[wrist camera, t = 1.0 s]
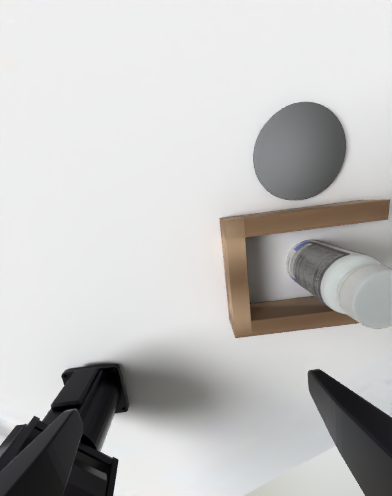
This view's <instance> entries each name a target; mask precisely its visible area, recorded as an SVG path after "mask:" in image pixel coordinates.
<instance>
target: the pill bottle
mask: <svg viewBox="0 0 392 496" xmlns="http://www.w3.org/2000/svg"><path fill="white" fill-rule="evenodd" d="M286 270H287V272H288V274H289V276H290V277H291V278H292V279H293V280H294V281H295V282H297V283H298V284H299V285H301V286H302V287H303V288H305V289H306V290H307V291H309V292H310V293H311V294H313V295H314V296H315V297H316V298H318V299H319V300H321V301H322V302H323V303H324V304H326V305H327V306H328V307H330V308H331V309H333V310H334V311H336V312H339V313H342V314H347V315H348V316H350V317H351V318H353V319H354V320H356V321H358V322H359V323H361V324H362V325H364V326H366V327H370V328H375V329H380V328H386V327H389V326H392V269H391V268H388V267H385V266H382V264H381V263H380V262H379V261H377V260H376V259H374V258H372V257H370V256H368V255H365V254H361V253H358V252H354V251H351V250H347V249H344V248H341V247H337V246H334V245H331V244H328V243H324V242H321V241H316V240H307V241H303V242H301V243H299V244H297V245H296V246H294V247H293V248H292V250H291V251H290V252H289V254H288V256H287V260H286Z"/></svg>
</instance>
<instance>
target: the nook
mask: <svg viewBox="0 0 392 496" xmlns="http://www.w3.org/2000/svg"><path fill="white" fill-rule="evenodd" d="M389 204H390V200H357V201H349V202H341V203H334V204H326V205H318V206H310V207H303V208H295V209H287V210H279V211H271V212H264V213H256V214H248V215H240V216H233V217H225V218H220V227H221V237H222V248H223V258H224V268H225V278H226V288H227V298H228V308H229V319H230V323H231V326H232V329H233V332H234V335H235V338H240V337H248V336H256V335H265V334H273V333H281V332H289V331H298V330H306V329H314V328H323V327H331V326H339V325H347V324H356V323H359V322H358V321H356V320H354V319H353V318H351V317H350V316H348V315H347V314H342V313H339V312H336V311H334V310H333V309H331V308H330V307H328V306H327V305H326V304H324V303H323V302H322V301H321V300H319V299H318V298H316V297H315V296H312V297H303V298H295V299H287V300H279V301H271V302H263V303H255V304H250V300H249V286H248V272H247V258H246V244H245V237H253V236H260V235H268V234H276V233H284V232H292V231H300V230H308V229H315V228H323V227H331V226H339V225H347V224H355V223H363V222H371V221H378V220H386V219H388V214H389Z"/></svg>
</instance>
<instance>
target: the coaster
mask: <svg viewBox="0 0 392 496" xmlns="http://www.w3.org/2000/svg"><path fill="white" fill-rule="evenodd" d="M345 150H346V140H345V134H344V130H343V128H342V125H341V123H340V121H339V120H338V118H337V117H336V116H335V115H334V113H333V112H331V111H330V110H329V109H328V108H326V107H324V106H322V105H320V104H317V103H313V102H299V103H294V104H291V105H289V106H286V107H285V108H283V109H281V110H280V111H278V112H277V113H276V114H275V115H273V116H272V117H271V118H270V119H269V121H268V122H267V123H266V124H265V125H264V127H263V128H262V130H261V131H260V133H259V135H258V138H257V140H256V143H255V147H254V154H253V161H254V168H255V172H256V175H257V177H258V179H259V181H260V183H261V184H262V186H263V187H264V188H265V189H266V190H267V191H268V192H270V193H271V194H272V195H274V196H276V197H279V198H281V199H286V200H301V199H306V198H309V197H312V196H314V195H316V194H318V193H320V192H321V191H323V190H324V189H325V188H327V187H328V186H329V185H330V184H331V183H332V181H333V180H334V179H335V177H336V176H337V174H338V173H339V171H340V169H341V166H342V164H343V161H344V157H345Z"/></svg>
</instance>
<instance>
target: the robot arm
mask: <svg viewBox="0 0 392 496" xmlns="http://www.w3.org/2000/svg"><path fill="white" fill-rule="evenodd" d="M114 369H116V370H114ZM62 379H63V382H64V385H65V386H64V387H63V389H62V390H61V391H60V393H59V394H58V396H57V397H56V399H55V400H54V401H53V403H52V404H51V409H50V411H49V412H48V414H47V415H46V416H45V418H44V419H43V421H40V420H39V419H40V418H38V417H36V416H34V417H33V418H32V420H31V421H30V422H29V423H28V425H27V424H25V425H16V427H15V428H14V429H13V430H12V432H11V433H10V434H9V435H8V437H7V438H6V439H5V440H4V442H3V443H2V444H1V446H0V496H113V493H114V486H115V480H116V473H117V467H118V459H116V458H114V457H113V458H111V457H109V456H108V455H106V454H104V453H102V452H100V451H101V449H102V446H103V443H104V441H105V438H106V435H107V432H108V430H109V427H110V424H111V422H112V419H113V416H114V414H115V413H121V412H126V411H128V408H129V402H128V398H127V395H126V391H125V387H124V383H123V379H122V375H121V371H120V367H119V366H118V365H117V364H112V365H103V366H95V367H87V368H78V369H70V370H65V371H64V372H63V374H62ZM308 386H309V391H310V394H311V396H312V398H313V400H314V402H315V404H316V406H317V408H318V411H319V413H320V415H321V417H322V419H323V421H324V423H325V425H326V427H327V429H328V431H329V433H330V435H331V437H332V439H333V441H334V443H335V445H336V447H337V448H338V450H339V452H340V454H341V455H342V457H343V459H344V460H345V462H346V464H347V466H348V467H349V469H350V471H351V472H352V474H353V476H354V477H355V479H356V481H357V482H358V484H359V486H360V488H361V489H362V491H363V493H364V494H365V496H392V417H390V416H389V415H387V414H386V413H384V412H383V411H381V410H380V409H378V408H377V407H375V406H374V405H372V404H371V403H369V402H368V401H366V400H365V399H363V398H362V397H360V396H359V395H357V394H356V393H354V392H353V391H351V390H350V389H348V388H347V387H345V386H344V385H342V384H341V383H340V382H338V381H337V380H335V379H334V378H332V377H331V376H329V375H328V374H326V373H325V372H323V371H322V370H320V369H315V370H309V371H308Z"/></svg>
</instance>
